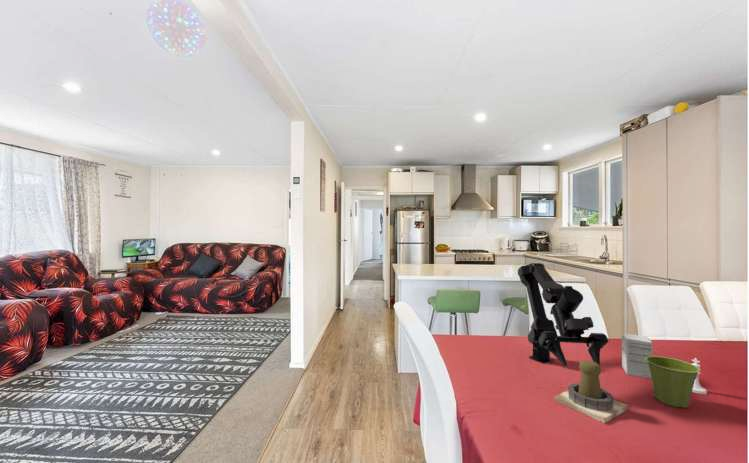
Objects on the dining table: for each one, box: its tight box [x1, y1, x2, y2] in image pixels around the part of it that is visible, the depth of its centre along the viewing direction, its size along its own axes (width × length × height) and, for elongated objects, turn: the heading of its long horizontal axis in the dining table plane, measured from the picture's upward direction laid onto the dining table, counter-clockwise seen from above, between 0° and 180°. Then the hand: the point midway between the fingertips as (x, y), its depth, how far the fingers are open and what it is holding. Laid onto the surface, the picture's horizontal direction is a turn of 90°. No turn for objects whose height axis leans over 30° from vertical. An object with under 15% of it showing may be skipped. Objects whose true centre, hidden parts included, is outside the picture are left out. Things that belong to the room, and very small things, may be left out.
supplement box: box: [621, 332, 654, 380], centre depth 113 cm, size 7×7×13 cm
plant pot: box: [645, 355, 702, 409], centre depth 94 cm, size 12×12×11 cm
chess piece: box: [691, 357, 708, 395], centre depth 101 cm, size 5×5×10 cm
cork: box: [578, 359, 602, 399], centre depth 92 cm, size 6×6×11 cm
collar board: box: [553, 382, 628, 424], centre depth 91 cm, size 13×13×4 cm
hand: (582, 366), depth 96 cm, fingers open, 9 cm apart
